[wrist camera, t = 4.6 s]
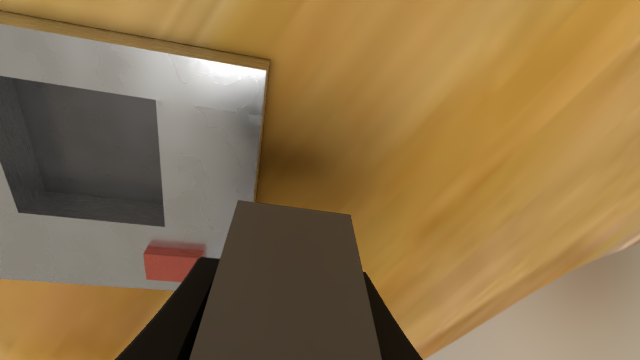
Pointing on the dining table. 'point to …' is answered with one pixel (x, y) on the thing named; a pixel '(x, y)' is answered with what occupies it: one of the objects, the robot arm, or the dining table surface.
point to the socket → (121, 153)
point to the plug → (287, 290)
